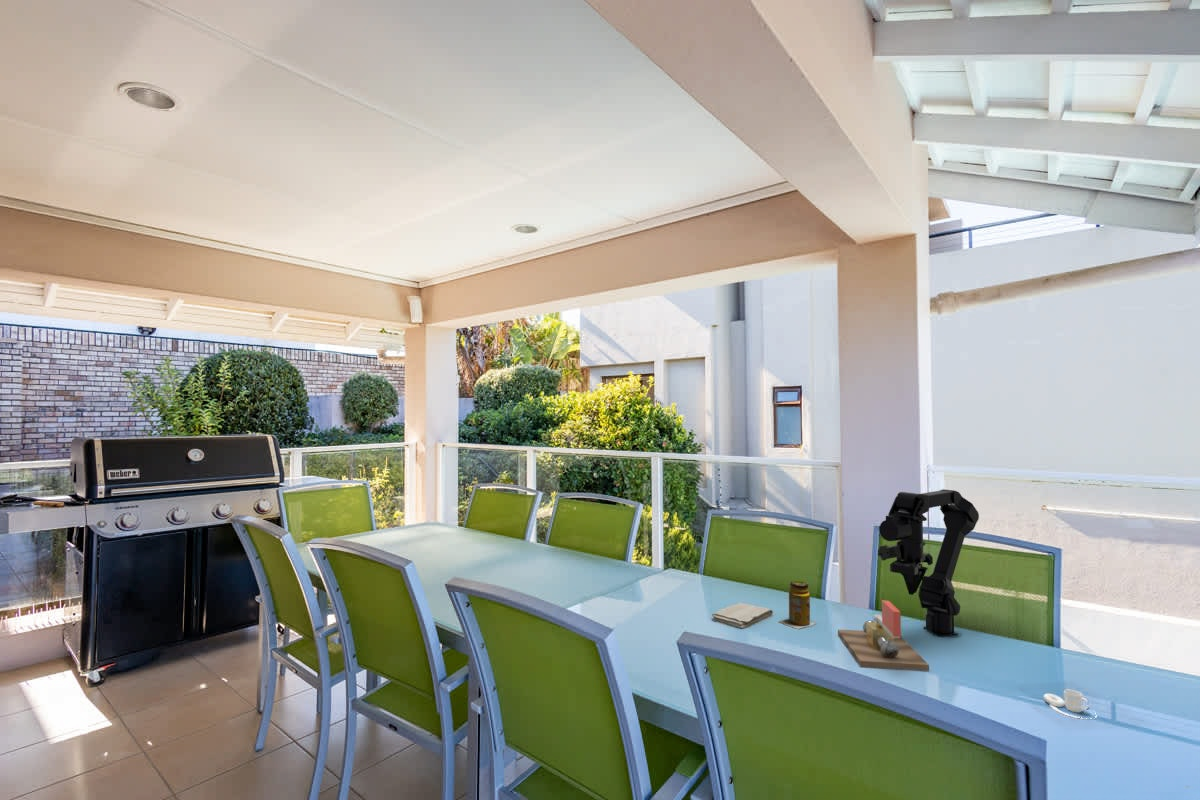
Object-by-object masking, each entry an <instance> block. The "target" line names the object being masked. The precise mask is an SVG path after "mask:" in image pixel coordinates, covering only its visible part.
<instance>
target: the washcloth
mask: <svg viewBox="0 0 1200 800" xmlns="http://www.w3.org/2000/svg"><path fill="white" fill-rule="evenodd" d="M773 614H774V612H773V609H770V608H766V607H763V606H756V605H752V604H749V603H743V602H737V603H736V604H732V605H729V606H727V607H725V608H723V609H720V610H717V611H714V612H713V613H712V614H711V616H712V618H711V620H712V621H715V622H717V623H720V624H723V625H726V626H730V627H734V628H738V629H747V628H749V627H752V626H755V625H756V624H759V623H760V622H762V621H764V620H767V619H769V618H770V617H772V616H773Z"/></svg>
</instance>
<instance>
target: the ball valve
mask: <svg viewBox="0 0 1200 800" xmlns="http://www.w3.org/2000/svg"><path fill="white" fill-rule="evenodd" d="M862 629H863V630H862V631H864V632H865V633H866V641H867V643H868V644H869V645H870V646H871V648H872V649H875V650H879V651H880V652H881V653H882V654H884V655H885V656H886V657H888V658H894V657H896V656H897V654H898V652H899V649H898V647H897V645H896V644H895V643H894V638H892V637H891V636H890V634H889V633H888V632H887V631H886V630H885V629H884V628H883V627H882V626H881V624H880V623H879V622H877V621H874V620H867V621H865V622H864V623H863V625H862Z"/></svg>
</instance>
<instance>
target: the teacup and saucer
mask: <svg viewBox="0 0 1200 800" xmlns="http://www.w3.org/2000/svg"><path fill="white" fill-rule="evenodd" d="M1083 696H1084V695H1083V693H1081V692H1080V691H1077V690H1075V689H1068V688H1066V689H1064V690H1063V698H1064V699H1063V698H1062V697H1060V696H1059V695H1057V694H1054V693H1045V694H1043V699H1044V701H1045V702H1047V704H1049V707H1050V708H1051V709H1052V710H1054V711H1056V712H1057V713H1059V714H1061V715H1065V716H1067V717H1070V716H1071V717H1070V718H1074V719H1078V718H1080V717H1081V718H1080V719H1079V720H1084V719H1083V718H1082V717H1083V716H1078V715H1073V714H1070V713H1066V712H1064V711H1062V710H1060V709H1058V708H1062V707H1064V706H1065V707H1066V709H1067V710H1068V711H1069V710H1070V711H1069V712H1073V713H1077V712H1078V713H1081V712H1082V711H1085V710H1086V708H1087V707H1088V706H1089V703H1090V702H1089V700H1088V699H1086V698H1085V697H1083ZM1083 700H1084V701H1085V702H1086V705H1085V706H1086V707H1085V708H1082V705H1083ZM1088 708H1089V707H1088ZM1093 711H1094V712H1095V714H1096V713H1097V712H1096V711H1095V710H1093ZM1069 714H1070V715H1069ZM1097 715H1098V714H1097ZM1097 715H1096V716H1095V718H1096V719H1097V718H1098V717H1097ZM1077 716H1078V717H1077ZM1095 718H1094V719H1092V718H1090V719H1091V720H1095ZM1086 719H1087V718H1086ZM1086 719H1085V720H1086Z"/></svg>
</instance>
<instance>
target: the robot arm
mask: <svg viewBox="0 0 1200 800" xmlns="http://www.w3.org/2000/svg"><path fill="white" fill-rule="evenodd" d="M937 507H939V510H940V512H941V514H943V522H944V526H945V529H946V530H945V533H944V537H943V539H942V543H941V545H940V549H939V553H938V554H937V555H938V556H937V559H936V562H935V564H934V568H933V571H932V574H929V576H928V575H927V576H926V573H927V571H928V567H926V566H923V563H927V565H928V566H931V565H933V563H934V561H933V560H934V559H933V556H932V555H931V553H929V552H924V546H926V541H924V528H923V527H924V522H926V521H927V520H928V518H927V517H926V516H925V515H924V514H926V513H927V512H929V510H930V509H932V508H937ZM979 519H980V515H979V511H978V510H977V508H976V507H975V505H974V504H973V503H972V502H971V501H969V500H968V499H966V498H965V497H964V496H962V494H961V493H960V491H958V490H954V489H943V488H942V489H938V490H936V491H929V492H923V493H922V492H921V493H915V492H907V491H899V492H898V493H897V495H896V496H895V498H894V500H893V502H892V505H891V507H890V509H889V512H888V515H885V520H883V521H881V523H880V525H879V527H878V532H879V534H880V536H881V538H882V539H884V541H887V542H895V541H897V542H896V544H892V545H887V544H884V545H880V546H879V547H878V549H877V556H878V557H880V559H881V561H886V560H890V559H894V558H895V559H896V560H894V561H893V562H891V563H890V564H889V571H890V572H891V573H897V574H900V575H902V577H903V580H904V583H905V587H906V589H907V593H908V594H909V595H911V596H913V595H914V594H916V593H918V598H919V602H920V605H921V608H922V609H926V614H925V626H923V629H924V630H925V631H927V632H929V633H931V634H933V635H934V636H937V637H950V636H951V637H952V636H959V633H958V632H956V631H955V617H957V616H958V615H959V614H960V612H961V611H960V610H961V605H960V603H959V602H958V601H957V599H956V598H955V592H956V591H955V587H954V585H953V582H952V580H953V578H954V577H953V576H954V573H955V570H956V566H957V563H958V560H959V556H960V554H961V551H962V548H963V547H962V546H963V544H964V540H965V538H966V536H967V535H968V534H970V533H971V532H973V530H974V529H975V527H976V525H977V523H978V521H979ZM918 589H919V590H918ZM917 591H918V592H917Z"/></svg>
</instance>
